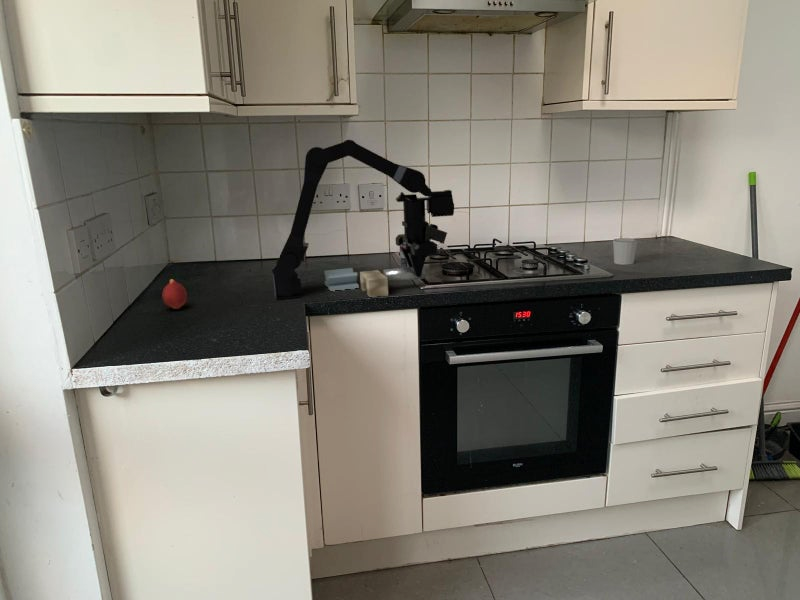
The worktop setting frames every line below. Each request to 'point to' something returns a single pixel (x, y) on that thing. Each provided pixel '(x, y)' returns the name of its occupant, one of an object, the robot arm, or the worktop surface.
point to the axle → (402, 274)
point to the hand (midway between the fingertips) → (416, 275)
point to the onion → (174, 295)
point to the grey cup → (624, 250)
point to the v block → (341, 279)
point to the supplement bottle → (403, 259)
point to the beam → (374, 283)
